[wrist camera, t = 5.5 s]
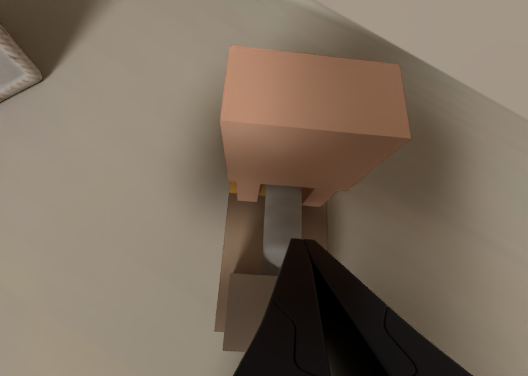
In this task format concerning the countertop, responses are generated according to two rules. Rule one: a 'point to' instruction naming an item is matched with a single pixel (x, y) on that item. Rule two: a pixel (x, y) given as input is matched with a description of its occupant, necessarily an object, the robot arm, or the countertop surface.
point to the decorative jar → (15, 67)
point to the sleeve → (308, 121)
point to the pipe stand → (259, 255)
